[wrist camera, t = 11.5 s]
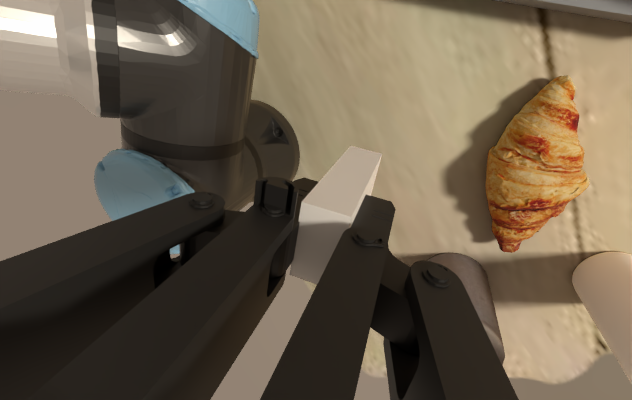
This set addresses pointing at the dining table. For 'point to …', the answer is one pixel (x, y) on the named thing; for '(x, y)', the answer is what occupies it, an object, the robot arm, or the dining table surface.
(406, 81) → the dining table surface
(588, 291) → the bottle
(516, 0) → the panel
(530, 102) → the croissant
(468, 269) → the pillar candle
